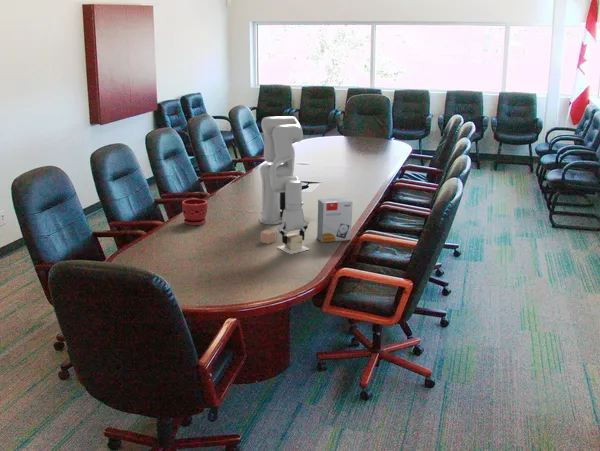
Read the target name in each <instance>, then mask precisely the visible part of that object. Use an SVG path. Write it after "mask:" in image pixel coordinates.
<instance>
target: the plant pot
mask: <svg viewBox="0 0 600 451" xmlns="http://www.w3.org/2000/svg"><path fill="white" fill-rule="evenodd" d="M181 208H182V209H181V211H182V214H183V218H184V219H183V222H184V223H185V224H186V225H189V226H200V225H203V224H205V223H206V221H207V219H206V216H207V213H208V201H207V200H206V199H201V198H190V199H185V200H183V201H182V202H181Z"/></svg>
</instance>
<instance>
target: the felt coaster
mask: <svg viewBox="0 0 600 451" xmlns="http://www.w3.org/2000/svg"><path fill="white" fill-rule="evenodd" d="M276 248H277V249H278V248H279V249H278V250H280V249H281V250H280V251H282V250H283V252H284V251H285V253H286V252H287V253H286V254H288V253H289V254H288V255H290V254H291V255H294V253H295V254H298V252H299V253H303V252H307V251H306V250H308V251H310V250H311V249H310V248H309V247H306V246H305V245H303V244H302V249H297V250H293V251H291V250H289V249H287V248H285V244H283V245H279V246H276Z"/></svg>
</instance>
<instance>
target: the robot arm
mask: <svg viewBox="0 0 600 451" xmlns="http://www.w3.org/2000/svg"><path fill="white" fill-rule="evenodd" d="M261 130H262V133H263V136H264V140H263V158H264V160H265V162H267V163H264V164H262V165H261V167H260V169H259V173H260V179H261V190H262V191H261V193H262V194H261V196H262V197H261V198H262V201H261V202H262V208H261V210H262V211H260V215H262V217H260V218H259V223H261V224H264V225H278V224H280V225H278V226H277V230H278V232H279V234H280V235H281V236H282V237H281V240H282V243H283V245H285V244H287V236H286V235H288V234H289V232H294V231H298V230H299V233H298V234H299V235H301V236H302V241H305V233H306V231H307V229H308V228H309V224H310V221H308V220H305V216H304V215H305V214H304V210H303V207H302V206H303V205H304V202H302V200H303V199H302V193H303V192H302V190H303V189H302V186H303V185H302V179H301V178H300V177H299V176H298V175H294V170H295V157H296V154H295V147H294V146H293V143H299V142H301V141H302V140H303V137H304V133H303V128H302V125H301V124H300V122H299V121H298V119H297V118H296V117H295V116H292V115H291V116H290V115H287V116H286V115H284V116H282V115H281V116H279V115H278V116H266V117H265V116H264V117H263V118H262V119H261ZM281 192H285V209H284V211H283V216H282V217H280V212H281V209H280V193H281Z"/></svg>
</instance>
